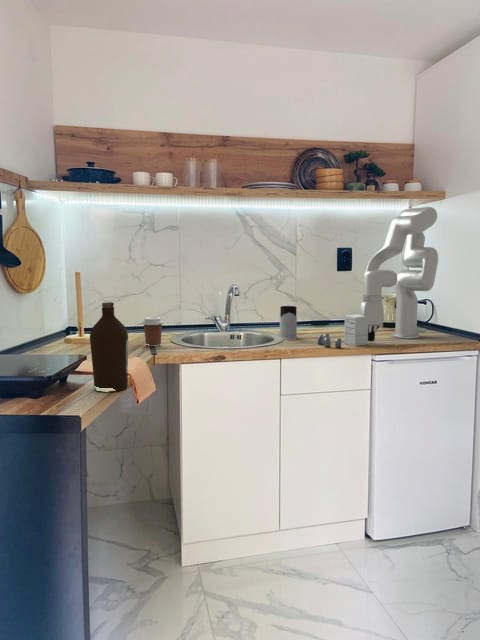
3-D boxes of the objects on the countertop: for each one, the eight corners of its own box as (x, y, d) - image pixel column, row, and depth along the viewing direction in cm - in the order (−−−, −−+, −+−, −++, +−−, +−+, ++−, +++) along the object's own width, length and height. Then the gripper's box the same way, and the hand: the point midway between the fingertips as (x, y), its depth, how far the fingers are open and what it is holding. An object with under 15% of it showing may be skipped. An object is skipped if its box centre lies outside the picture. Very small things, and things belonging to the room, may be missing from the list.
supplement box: (356, 342, 209) (357, 314, 207) (368, 344, 202) (368, 315, 201) (343, 343, 205) (344, 315, 204) (355, 346, 199) (355, 317, 197)
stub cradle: (327, 342, 209) (327, 333, 208) (342, 348, 194) (342, 339, 194) (314, 342, 207) (314, 334, 207) (328, 349, 193) (328, 339, 193)
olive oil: (97, 395, 129) (93, 305, 125) (88, 386, 138) (84, 302, 135) (134, 390, 134) (131, 303, 131) (123, 381, 143) (120, 300, 140)
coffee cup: (141, 344, 206) (140, 317, 204) (161, 342, 209) (161, 316, 207) (144, 347, 197) (143, 319, 196) (166, 346, 200) (165, 318, 199)
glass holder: (279, 340, 215) (279, 307, 213) (277, 335, 229) (277, 304, 227) (298, 340, 215) (298, 307, 213) (295, 335, 229) (295, 304, 227)
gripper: (383, 298, 208) (381, 338, 211) (352, 299, 205) (351, 340, 207) (392, 299, 201) (390, 341, 203) (360, 300, 197) (359, 343, 200)
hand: (370, 340), depth 205 cm, fingers closed
